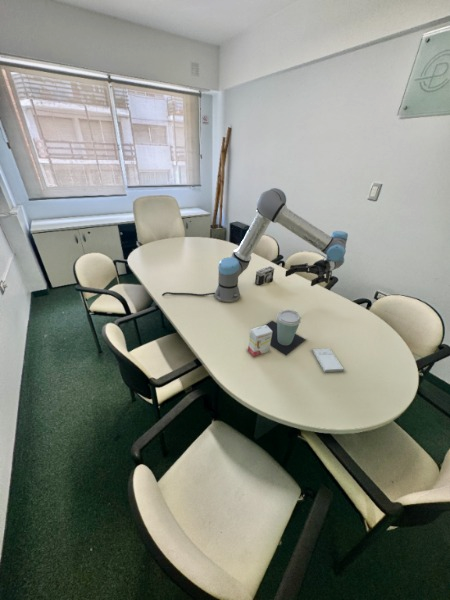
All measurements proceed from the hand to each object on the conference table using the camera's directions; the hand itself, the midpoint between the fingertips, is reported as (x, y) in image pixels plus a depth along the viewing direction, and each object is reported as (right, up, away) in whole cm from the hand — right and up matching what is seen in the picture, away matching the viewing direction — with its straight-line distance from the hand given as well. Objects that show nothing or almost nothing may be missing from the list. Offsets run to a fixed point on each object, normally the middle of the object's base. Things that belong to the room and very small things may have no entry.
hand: (298, 278), depth 109 cm
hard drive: (+11, -36, -4) cm, 38 cm away
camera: (-5, +2, +58) cm, 58 cm away
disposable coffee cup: (-5, -29, +6) cm, 30 cm away
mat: (-7, -28, +8) cm, 30 cm away
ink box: (-18, -33, 0) cm, 38 cm away
